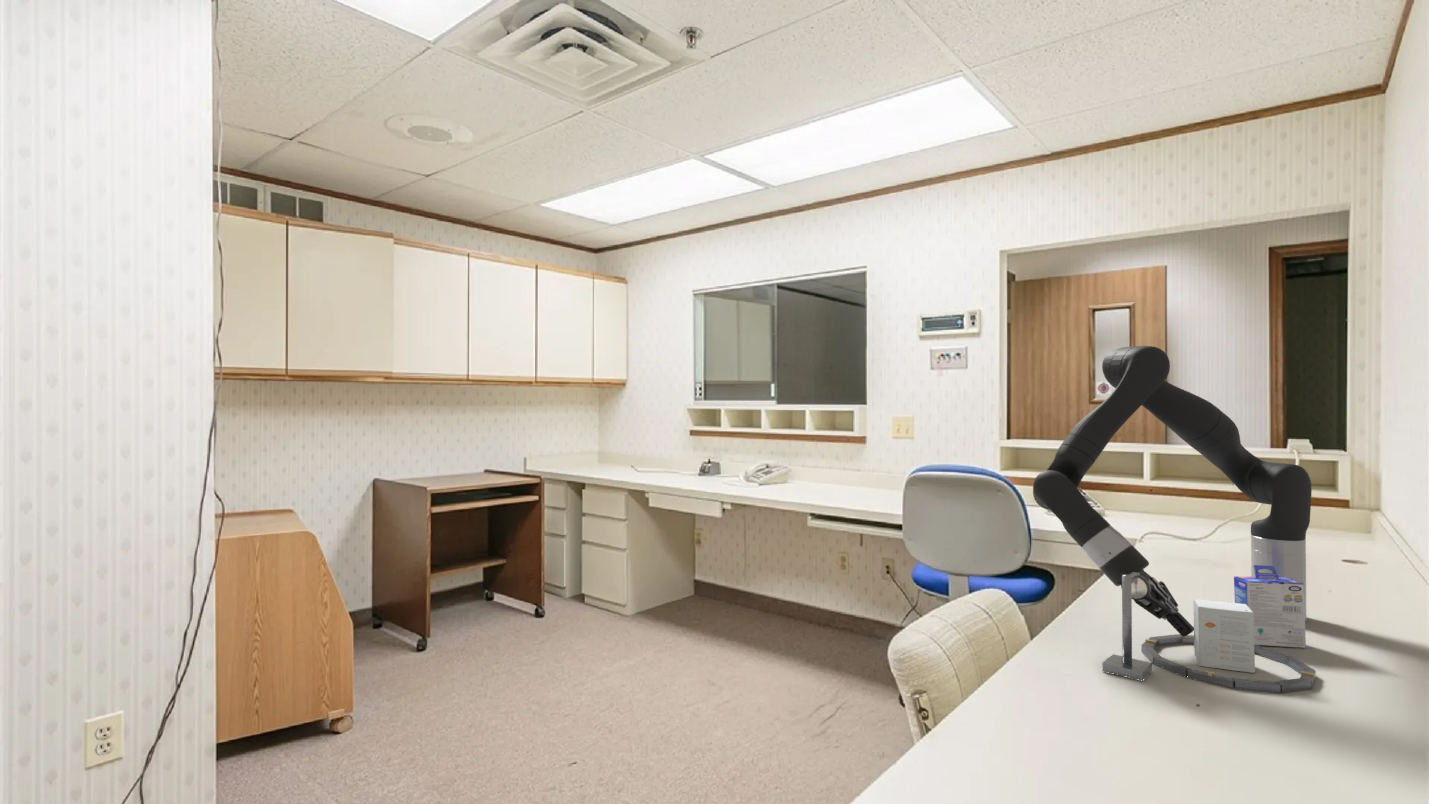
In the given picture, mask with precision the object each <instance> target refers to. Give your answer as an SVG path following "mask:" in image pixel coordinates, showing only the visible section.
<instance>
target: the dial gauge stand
mask: <svg viewBox="0 0 1429 804" xmlns="http://www.w3.org/2000/svg"><path fill="white" fill-rule="evenodd" d="M1120 588H1121V621H1122V623H1121V625H1122V626H1121V627H1122V633H1121V634H1122V635H1121V636H1122V637H1121V638H1122V639H1121V640H1122V641H1121V642H1122V643H1121V645H1122V646H1121V647H1122V651H1121V652H1122V655H1118V654H1114V653H1112V654H1111V655H1110V656H1109V657H1108V658H1106V659H1105V660H1104V661H1103V662H1102V672H1103V671H1105V672H1104V673H1106V672H1109V673H1108V674H1110V673H1114V674H1118V675H1121V676H1120V677H1122V676H1127V677H1130V678H1133V679H1132V680H1134V679H1139V680H1142V681H1141V682H1144V681H1143V679H1145V678H1146V677H1147V678H1148V677H1149V676H1150V675H1151V674H1152V672H1153V663H1152V662H1151V661H1150V662H1149V661H1146V660H1145V661H1144V660H1140V659H1136V658H1133V632H1132V631H1133V626H1132V625H1133V620H1132V619H1133V617H1132V616H1133V614H1132V609H1133V608H1132V607H1133V606H1132V605H1133V604H1132V603H1133V602H1132V600H1133V601H1134V600H1142V599H1144V598H1146V597H1147V596H1148V595H1149V594H1150V591H1151V586H1150V583H1149V582H1148V580H1147V579H1146V578H1145V577H1143V576H1141V575H1140V573H1137V572H1132V573H1131V574H1129V575H1127V574H1122V582H1121V585H1120ZM1114 674H1113V675H1114ZM1118 675H1117V676H1118ZM1130 678H1129V679H1130ZM1147 678H1146V679H1147ZM1146 679H1145V680H1146Z"/></svg>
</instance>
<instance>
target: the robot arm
mask: <svg viewBox="0 0 1429 804" xmlns="http://www.w3.org/2000/svg"><path fill="white" fill-rule="evenodd" d="M1170 364H1171V362H1170V360H1169V357H1168V355H1167V353H1166V352H1165V351H1164V350H1162V349H1161V348H1160V347H1156V346H1154V345H1153V346H1152V345H1139V346H1135V345H1134V346H1124V347H1119V348H1115V349H1113V350H1111V351H1109V352H1108V353H1107V354H1106V355H1105V356H1104V358H1103V360H1102V364H1101V367H1102V368H1101V369H1102V374H1103V376H1104V378H1105V379H1106V381H1107V383H1109V385H1111V387H1113V388H1114V390H1113V391H1112V393H1111V394H1110V395H1109V396H1108V397H1107V398H1105V400H1104V401H1103V402H1102V403H1100V404H1099V405H1098V406H1097V407H1095V408H1094V409H1093V410H1091V411H1090V412H1089V413H1088V414H1086V415H1085V416H1084V417H1083V418H1082V419H1080V420H1079V421H1078V422H1077V423H1076V424H1075V426H1073V428H1072V429H1071V430H1070V432H1069V433H1068V435H1066V437H1065V438H1064V440H1063V441H1062V443H1061V444H1060V446H1059V447H1058V449H1057V451H1056V452H1055V456H1054V458H1053V460H1052V462H1051V463H1050V465H1049V467H1048V468H1046V470H1044V471H1042V472H1040V473H1039V474H1037V475H1036V477H1035V479H1034V480H1033V484H1032V495H1033V498H1034V501H1035V502H1036V504H1037V505H1038V506H1039V507H1041V508H1042V509H1045V510H1048V511H1051V512H1052V513H1053V514H1054V516H1056V518H1057V519H1058V520H1059V521H1060V522H1061V524H1062V526H1063V529H1065V531H1066V533H1067V534H1068V535H1069V536H1070V537H1071V538H1072V539H1073V540H1074V541H1075V543H1077V544H1078V545H1079V546H1080V547H1081V549H1082V550H1083V551H1084V552H1085V554H1086V555H1087V557H1088V558H1089V559H1090V560H1091V561H1092V562H1093V563H1094V564H1095V566H1097V568H1098V569H1099V570H1100V571H1101V572H1102V573H1103V574H1104V575H1105V576H1106V577H1107V578H1108V579H1109V580H1110V581H1111V582H1112V583H1113V585H1114V586H1116V587H1121V582H1122V574H1127V575H1129V574H1131V573H1132V572H1137V573H1140V575H1141V576H1143V577H1145V578H1146V579H1147V580H1148V582H1149V583H1150V586H1151V591H1150V594H1149V595H1148V596H1147V597H1146V598H1144V599H1142V600H1133V602H1134V603H1135V604H1137V605H1138V606H1139V607H1141V608H1142V609H1144V610H1145V611H1147V612H1148V613H1150V615H1152V616H1154V617H1155V618H1157V619H1158V620H1161V619H1163V620H1164V621H1167V622H1168V623H1169V624H1170V625H1171V627H1172V628H1173V629H1174V630H1176V632H1178V634H1180V635H1181V636H1183V637H1185V636H1187V635H1190V634H1191V633H1194V625H1192V624H1191V623H1190V622H1189V621H1188V620H1187V619H1186V618H1185V617H1184V616H1183V615H1182V614H1181V612H1179V611H1180V610H1179V608H1178V607H1179V604H1178V603H1177V600H1176V599H1175V598H1174V596H1173V595H1172V593H1171V591H1170V589H1169V588H1168V587H1167V585H1166V584H1165V582H1163V581H1161V580H1160V581H1158V580H1157V579H1156V578H1155V577H1153V576H1152V575H1150V574H1149V573H1147V571H1145V569H1147V567H1148V566H1149V565H1150V562H1149V560H1148V559H1147V558H1146V557H1145V556H1143V554H1142V553H1140V552H1139V550H1137V548H1136V547H1135V546H1134V545H1133V544H1132V543H1131V542H1130V541H1129V540H1128V539H1127V538H1126V537H1125V536H1124V535H1122V533H1120V532H1119V531H1118V529H1116V528H1115V527H1113V526H1112V525H1111V524H1110V523H1109V522H1108V521H1107V520H1106V519H1105V518H1104V516H1102V515H1101V514H1100V513H1099V512H1098V511H1097V510H1096V509H1095V508H1093V507H1092V505H1091V504H1090V503H1089V501H1088V500H1087V499H1086V497H1085V496H1084V495H1083V493H1082V492H1081V491H1080V490H1079V489H1078V487H1079V485H1080V483H1081V481H1082V480H1083V478H1084V476H1085V475H1086V473H1088V471H1089V470H1090V469H1091V468H1092V466H1094V464H1095V462H1096V461H1097V459H1098V458H1099V457H1100V455H1101V454H1102V452H1103V451H1104V449H1105V448H1106V446H1108V444H1109V443H1110V441H1111V440H1112V438H1114V436H1115V435H1116V433H1117V432H1118V431H1119V430H1120V428H1122V427H1123V425H1124V424H1125V423H1126V422H1127V421H1128V420H1129V419H1130V418H1131V417H1132V416H1133V415H1134V414H1135V412H1137V410H1138V409H1140V408H1141V406H1142V407H1144V408H1145V409H1146V410H1147V411H1148V412H1150V413H1151V414H1152V415H1153V416H1154V417H1155V418H1156V419H1158V420H1159V421H1160V422H1161V423H1162V424H1164V426H1166V427H1167V428H1169V429H1170V430H1171V431H1172V432H1174V433H1175V434H1176V435H1177V436H1178V438H1180V439H1181V440H1183V441H1184V442H1185V443H1186V444H1188V445H1189V446H1190V447H1191V448H1192V449H1194V450H1195V451H1196V452H1198V454H1201V456H1203V457H1204V458H1205V459H1206V460H1207V461H1209V462H1210V463H1211V464H1213V466H1215V467H1216V468H1218V469H1219V471H1221V472H1222V473H1223V474H1224V475H1225V476H1226V477H1227V479H1229V480H1230V481H1231V483H1233V484H1234V485H1235V487H1236V488H1237V489H1238V490H1239V491H1240V492H1241V493H1242V494H1243V495H1245V496H1246V497H1247V498H1248V499H1250V500H1251V501H1254V502H1255V503H1260V504H1264V505H1271V506H1270V512H1269V515H1268V516H1267V517H1266V518H1263V519H1258V520H1257V519H1256V520H1254V521H1252V522H1251V524H1250V561H1251V564H1250V565H1251V567H1250V568H1251V569H1250V570H1251V571H1250V572H1251V576H1250V577H1256V575H1255V571H1254V566H1253V565H1262V566H1274V568H1275V570H1276V573H1277V575H1278V577H1279V578H1291V579H1293V580H1296V581H1298V582H1301V583H1304V593H1305V622H1307V550H1306V549H1307V547H1306V546H1307V544H1306V543H1307V542H1306V537H1307V535H1306V534H1307V531H1308V529H1309V527H1310V523H1311V509H1312V507H1311V506H1312V493H1313V492H1312V491H1313V490H1312V481H1311V478H1310V475H1309V473H1308V472H1307V471H1306V469H1305V468H1304V467H1303V466H1301V465H1299V464H1293V463H1285V462H1283V463H1281V462H1273V461H1272V462H1271V461H1270V462H1269V461H1267V460H1266V461H1265V460H1263V459H1260V458H1259V457H1257V456H1255V455H1254V454H1252V453H1251V452H1250V450H1248V449H1246V448H1245V447H1244V446H1243V445H1242V443H1241V437H1240V436H1241V435H1240V431H1239V428H1238V427H1237V425H1236V424H1235V423H1236V422H1234V420H1232V418H1230V417H1229V416H1228V415H1227V414H1226V413H1224V412H1223V411H1222V410H1220V408H1219V407H1217V406H1216V405H1214V404H1213V403H1211V402H1210V401H1209V400H1206V399H1204V398H1202V397H1201V396H1198V395H1196V394H1194V393H1192V392H1190V391H1188V390H1184V389H1183V388H1181V387H1178V386H1176V385H1173V384H1172V383H1170V382H1168V381H1166V380H1167V378H1168V376H1169V373H1170V371H1171V370H1170V369H1171V365H1170ZM1258 572H1259V573H1273V572H1272V571H1271V570H1268V569H1261V570H1258Z"/></svg>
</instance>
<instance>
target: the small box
mask: <svg viewBox="0 0 1429 804" xmlns="http://www.w3.org/2000/svg"><path fill="white" fill-rule="evenodd" d="M1192 603H1193V627H1194V631H1193V635H1194V644H1193V648H1194V649H1193V652H1194V654H1193V655H1194V657H1195V660H1196V661H1197V664H1198V666H1200V667H1206V668H1213V669H1221V670H1228V671H1235V672H1242V673H1249V674H1250V673H1251V674H1255V672H1256V666H1255V665H1256V664H1255V660H1256V659H1255V657H1256V656H1255V653H1254V614H1253V612H1252V611H1251V609H1250V608H1249V607H1248V606H1247V605H1246V604H1239V603H1235V602H1226V601H1215V600H1206V599H1195V598H1194V599H1193V602H1192Z"/></svg>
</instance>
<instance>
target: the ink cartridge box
mask: <svg viewBox="0 0 1429 804" xmlns="http://www.w3.org/2000/svg"><path fill="white" fill-rule="evenodd" d="M1253 566H1254V571H1255V575H1256V577H1251V576H1237V575H1236V576H1233V589H1234V603H1239V604H1246V605H1247V606H1248V607H1249V608H1250V609H1251V611H1252V612H1253V614H1254V645H1257V646H1258V645H1259V646H1269V647H1282V648H1283V647H1286V648H1300V649H1301V648H1303V649H1305V648H1306V647H1307V643H1306V642H1307V641H1306V639H1307V638H1306V621H1305V593H1304V583H1301V582H1298V581H1296V580H1293V579H1291V578H1279V577H1278V575H1277V573H1276V570H1275V568H1274V566H1262V565H1253ZM1261 569H1268V570H1271V571H1272V572H1273V573H1259V572H1258V570H1261Z"/></svg>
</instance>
